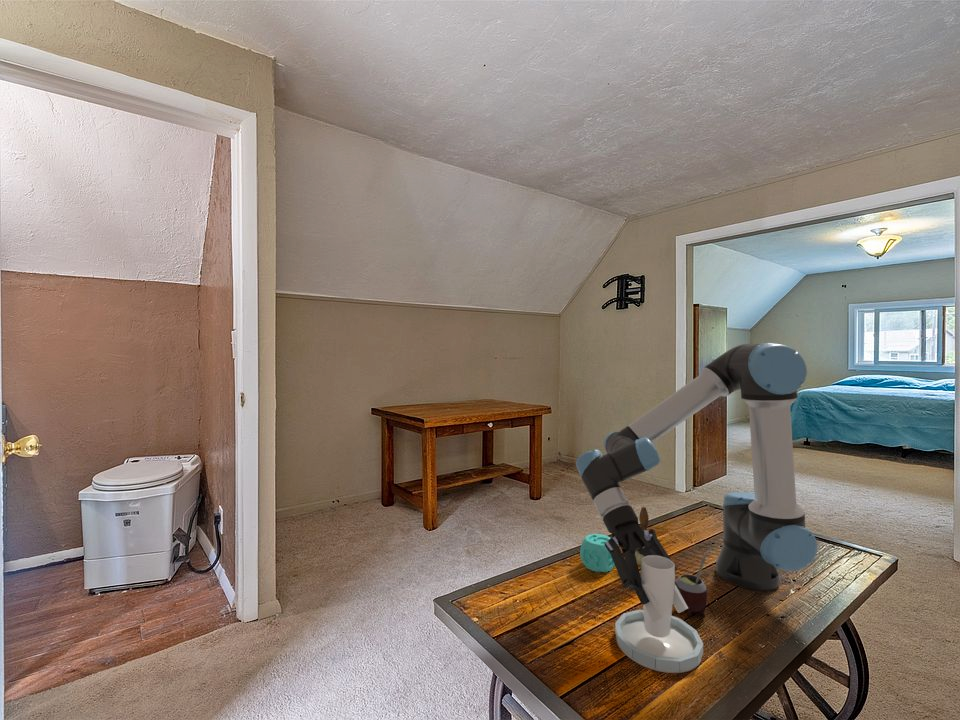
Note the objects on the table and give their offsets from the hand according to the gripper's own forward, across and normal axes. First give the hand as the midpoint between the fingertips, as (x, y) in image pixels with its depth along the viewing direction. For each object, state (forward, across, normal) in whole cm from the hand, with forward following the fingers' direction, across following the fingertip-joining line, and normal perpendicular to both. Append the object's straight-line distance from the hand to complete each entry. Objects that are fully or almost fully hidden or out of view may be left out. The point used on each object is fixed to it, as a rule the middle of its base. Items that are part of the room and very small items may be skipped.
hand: (670, 615), depth 93 cm
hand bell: (-17, -27, -30) cm, 44 cm away
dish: (+3, 0, -8) cm, 9 cm away
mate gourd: (0, -17, -12) cm, 21 cm away
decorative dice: (-20, -12, -32) cm, 39 cm away
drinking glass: (+1, 0, -6) cm, 7 cm away
